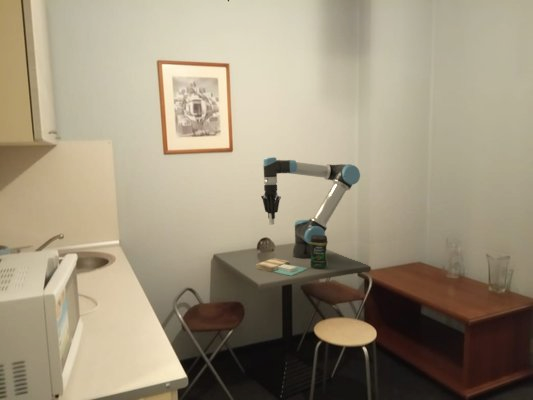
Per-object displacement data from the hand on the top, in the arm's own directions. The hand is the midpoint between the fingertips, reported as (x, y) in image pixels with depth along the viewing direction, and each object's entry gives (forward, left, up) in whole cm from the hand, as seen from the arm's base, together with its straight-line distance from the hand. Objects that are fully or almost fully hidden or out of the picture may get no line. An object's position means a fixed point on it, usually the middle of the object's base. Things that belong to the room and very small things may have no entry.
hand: (271, 224), depth 236 cm
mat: (+4, +16, -24) cm, 29 cm away
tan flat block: (+4, +3, -24) cm, 25 cm away
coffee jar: (-11, +25, -24) cm, 37 cm away
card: (+4, +14, -24) cm, 28 cm away
